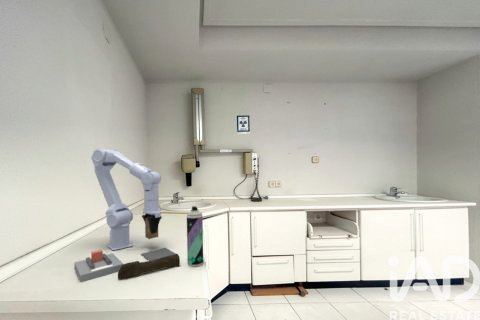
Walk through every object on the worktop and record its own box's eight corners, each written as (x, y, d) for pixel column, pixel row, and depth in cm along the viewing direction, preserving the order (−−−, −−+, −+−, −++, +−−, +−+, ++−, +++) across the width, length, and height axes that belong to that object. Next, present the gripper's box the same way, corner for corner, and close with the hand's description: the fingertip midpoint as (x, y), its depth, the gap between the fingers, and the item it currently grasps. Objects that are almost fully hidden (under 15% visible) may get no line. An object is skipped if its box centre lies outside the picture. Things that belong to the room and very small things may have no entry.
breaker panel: (74, 268, 81) (74, 258, 81) (112, 258, 89) (112, 250, 89) (80, 282, 70) (80, 271, 70) (123, 269, 78) (123, 260, 78)
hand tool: (177, 263, 83) (177, 250, 83) (180, 267, 80) (180, 253, 80) (117, 277, 73) (117, 262, 74) (118, 282, 70) (118, 266, 70)
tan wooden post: (145, 237, 99) (145, 218, 99) (154, 235, 102) (154, 216, 102) (148, 239, 96) (148, 219, 96) (158, 237, 99) (158, 218, 99)
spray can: (186, 262, 83) (185, 205, 84) (201, 259, 85) (200, 204, 86) (188, 268, 78) (187, 208, 79) (204, 265, 80) (203, 206, 81)
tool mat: (140, 254, 92) (140, 253, 92) (165, 248, 98) (165, 247, 98) (150, 262, 84) (150, 261, 84) (176, 254, 91) (176, 253, 91)
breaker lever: (91, 260, 81) (91, 251, 81) (101, 258, 83) (101, 249, 83) (92, 262, 79) (92, 253, 80) (102, 260, 81) (102, 251, 82)
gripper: (167, 200, 97) (168, 233, 96) (154, 197, 107) (154, 227, 107) (150, 202, 92) (151, 237, 91) (138, 199, 103) (138, 230, 102)
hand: (151, 232), depth 99 cm, fingers closed on tan wooden post, 4 cm apart
